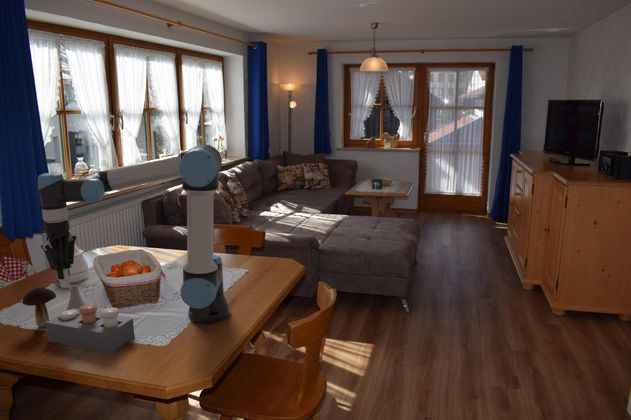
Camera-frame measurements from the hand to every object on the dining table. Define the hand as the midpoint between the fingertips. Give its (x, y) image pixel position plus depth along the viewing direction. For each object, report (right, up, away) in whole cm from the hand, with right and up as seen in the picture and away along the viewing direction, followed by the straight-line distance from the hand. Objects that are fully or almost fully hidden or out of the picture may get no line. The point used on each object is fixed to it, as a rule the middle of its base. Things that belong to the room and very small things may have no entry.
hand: (65, 286), depth 178 cm
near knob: (+17, -15, -3) cm, 23 cm away
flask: (-7, -13, +24) cm, 29 cm away
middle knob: (+8, -14, 0) cm, 17 cm away
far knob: (0, -17, +4) cm, 17 cm away
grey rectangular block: (+8, -18, +1) cm, 20 cm away
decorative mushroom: (-13, -16, +11) cm, 24 cm away
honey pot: (-25, -5, +60) cm, 65 cm away
